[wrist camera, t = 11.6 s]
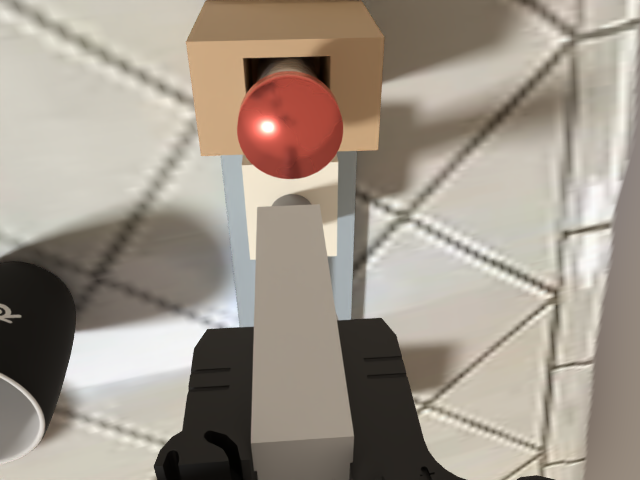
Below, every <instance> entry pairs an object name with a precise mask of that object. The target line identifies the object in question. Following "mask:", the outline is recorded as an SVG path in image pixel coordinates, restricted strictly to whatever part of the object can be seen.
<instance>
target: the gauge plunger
mask: <svg viewBox="0 0 640 480" xmlns="http://www.w3.org/2000/svg"><path fill="white" fill-rule="evenodd" d="M237 136H238V141H239V144H240V147H241V149H242V151H243V153H244V155H245V156H246V158H247V159H248V160H249V161H250V163H251V164H253V165H254V166H255V167H256V168H257V169H259V170H260V171H262V172H264V173H266V174H268V175H270V176H273V177H277V178H282V179H299V178H304V177H307V176H310V175H313V174H315V173H317V172H318V171H320V170H322V169H323V168H324V167H325V166H327V165H328V164H329V163H330V162H331V161H332V159H333V158H334V157H335V155H336V154H337V152H338V150H339V148H340V145H341V142H342V138H343V121H342V116H341V113H340V109H339V106H338V103H337V100H336V98H335V96H334V95H333V93H332V92H331V90H330V89H329V88H328V87H327V86H326V85H325V84H324V83H322V82H321V81H320V80H318V79H317V74H316V69H315V64H314V59H313V56H310V57H269V58H258V70H257V82H256V83H255V84H254V85H253V86H252V87H251V88H250V89H249V91H248V92H247V93H246V95H245V97H244V98H243V100H242V103H241V106H240V109H239V116H238V123H237Z"/></svg>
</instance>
